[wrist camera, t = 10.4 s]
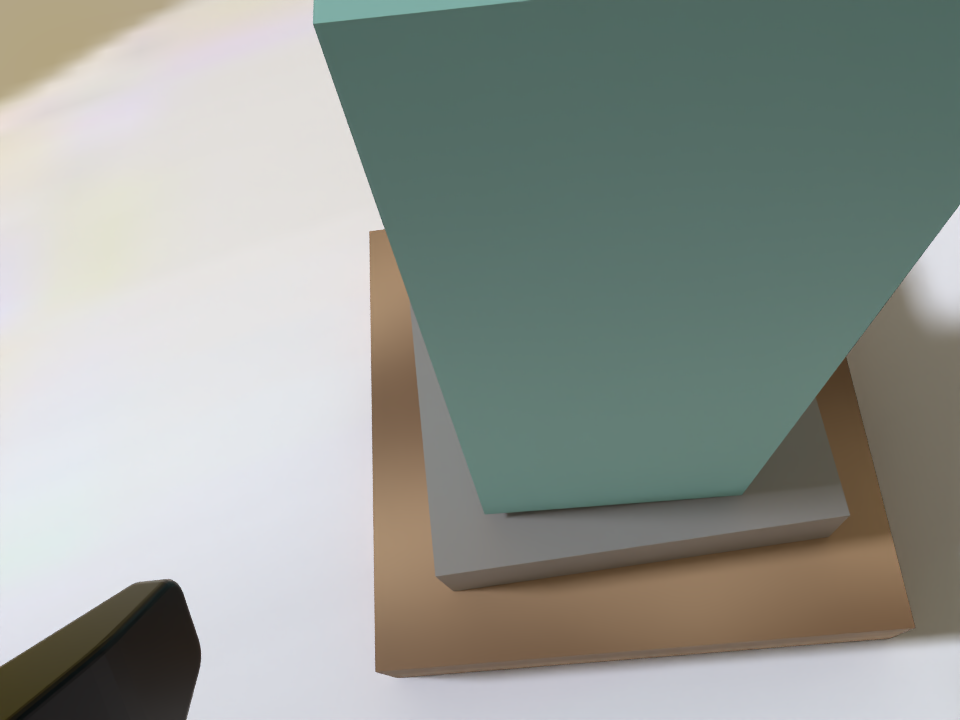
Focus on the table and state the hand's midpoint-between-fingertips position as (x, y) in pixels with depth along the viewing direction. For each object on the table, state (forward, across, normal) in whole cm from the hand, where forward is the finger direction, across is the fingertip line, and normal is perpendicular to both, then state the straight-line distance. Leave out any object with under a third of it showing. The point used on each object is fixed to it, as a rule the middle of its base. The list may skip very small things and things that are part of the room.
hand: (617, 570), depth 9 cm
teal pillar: (+9, 0, +2) cm, 10 cm away
